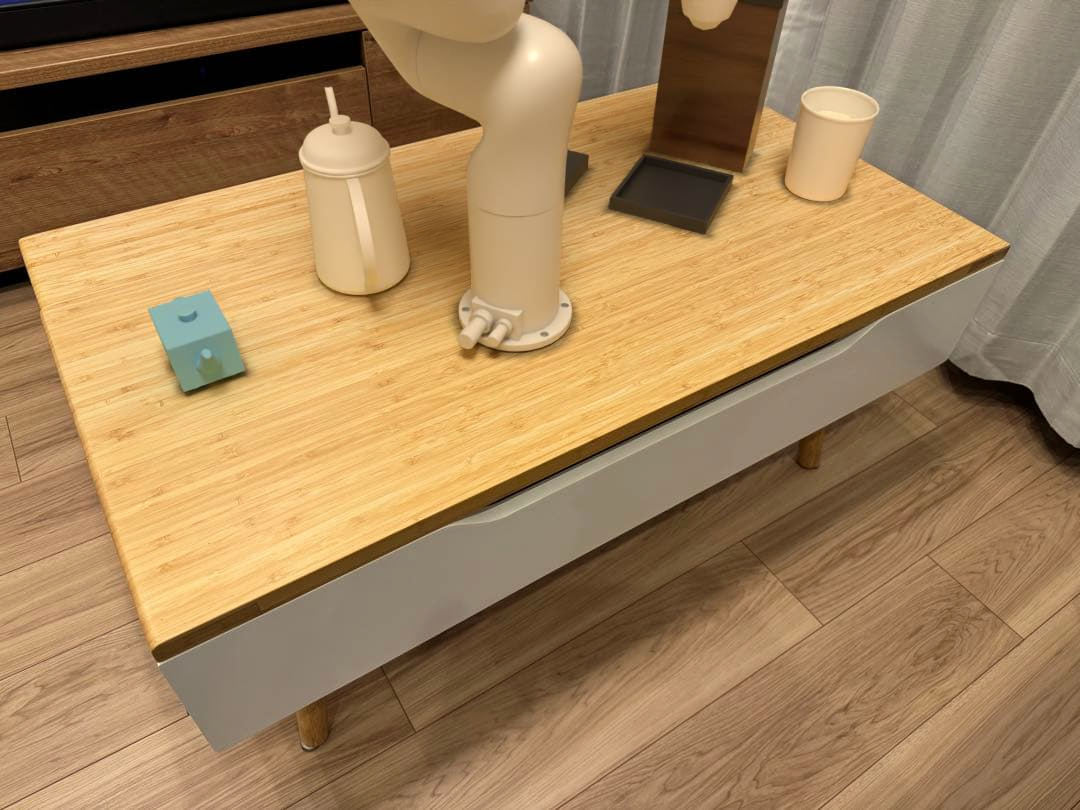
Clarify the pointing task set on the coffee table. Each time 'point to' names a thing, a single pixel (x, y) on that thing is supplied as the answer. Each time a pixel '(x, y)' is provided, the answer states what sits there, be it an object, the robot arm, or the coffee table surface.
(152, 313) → the teal peg block
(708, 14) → the cream vase
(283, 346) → the coffee table surface
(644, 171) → the drip pan
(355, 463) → the coffee table surface
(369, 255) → the coffeepot
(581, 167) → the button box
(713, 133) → the column
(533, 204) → the robot arm
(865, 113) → the cream open tapered cylinder
